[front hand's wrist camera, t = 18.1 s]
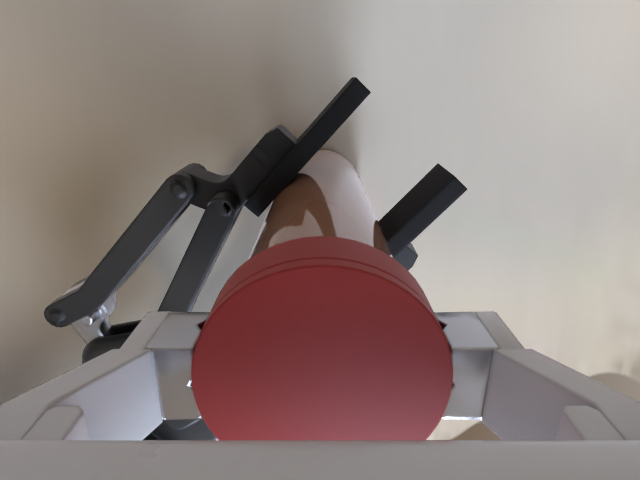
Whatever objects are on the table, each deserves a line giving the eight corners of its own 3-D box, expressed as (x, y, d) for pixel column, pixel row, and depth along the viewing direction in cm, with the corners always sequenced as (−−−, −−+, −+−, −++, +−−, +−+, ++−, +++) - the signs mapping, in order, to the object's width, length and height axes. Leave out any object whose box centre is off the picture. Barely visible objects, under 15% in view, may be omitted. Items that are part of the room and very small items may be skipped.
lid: (163, 322, 10) (134, 366, 8) (344, 186, 9) (348, 208, 7) (304, 458, 11) (302, 517, 10) (474, 355, 10) (502, 403, 9)
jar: (338, 134, 24) (375, 226, 8) (372, 206, 25) (460, 402, 9) (266, 172, 24) (171, 323, 9) (303, 239, 26) (279, 472, 10)
